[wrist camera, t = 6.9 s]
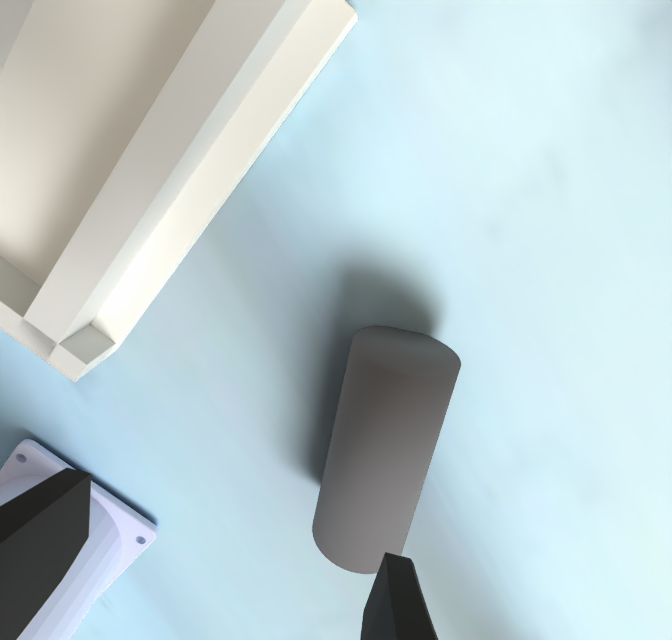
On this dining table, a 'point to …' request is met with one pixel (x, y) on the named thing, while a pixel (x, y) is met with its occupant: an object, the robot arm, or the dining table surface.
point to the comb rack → (132, 147)
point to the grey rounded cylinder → (381, 444)
